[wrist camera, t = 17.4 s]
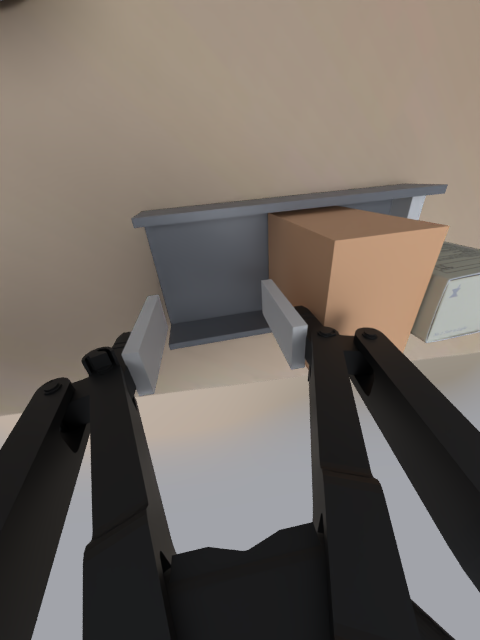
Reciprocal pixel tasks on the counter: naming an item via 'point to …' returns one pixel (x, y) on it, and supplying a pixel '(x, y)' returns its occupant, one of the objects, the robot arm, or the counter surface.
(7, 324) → the counter surface
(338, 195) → the tray
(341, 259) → the block
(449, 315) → the skincare box
